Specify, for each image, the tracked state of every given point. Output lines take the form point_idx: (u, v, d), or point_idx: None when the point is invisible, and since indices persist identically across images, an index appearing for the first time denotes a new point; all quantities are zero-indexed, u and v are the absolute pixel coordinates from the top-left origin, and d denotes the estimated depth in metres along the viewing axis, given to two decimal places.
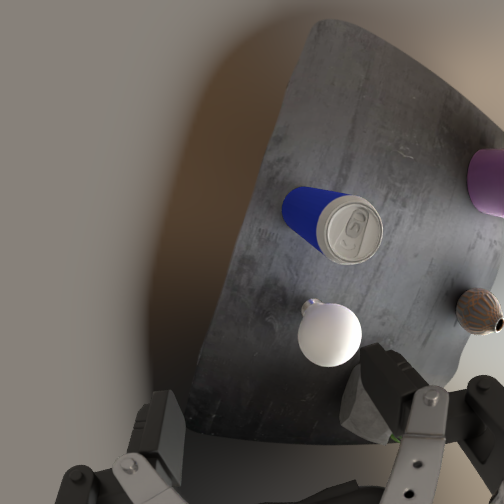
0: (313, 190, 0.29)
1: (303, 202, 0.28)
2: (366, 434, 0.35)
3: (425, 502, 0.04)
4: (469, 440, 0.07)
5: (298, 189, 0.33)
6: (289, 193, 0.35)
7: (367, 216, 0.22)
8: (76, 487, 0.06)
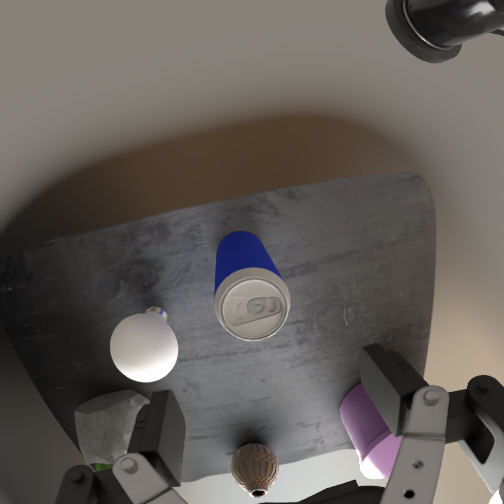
0: (265, 251, 0.28)
1: (249, 247, 0.26)
2: (82, 440, 0.30)
3: (425, 502, 0.04)
4: (469, 440, 0.07)
5: (256, 238, 0.32)
6: (247, 232, 0.33)
7: (276, 312, 0.21)
8: (76, 486, 0.07)
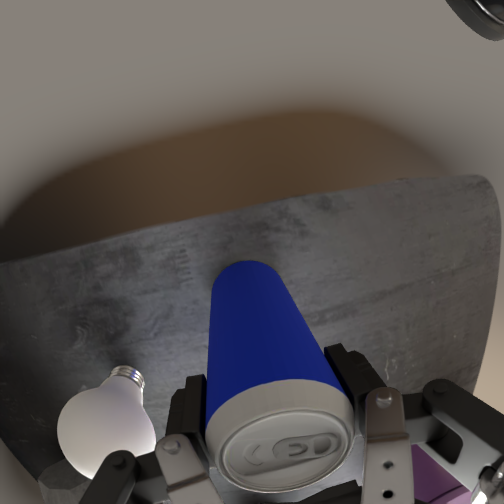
0: (293, 304, 0.16)
1: (269, 305, 0.14)
2: None
3: (407, 499, 0.05)
4: (433, 443, 0.08)
5: (274, 274, 0.21)
6: (259, 263, 0.22)
7: (328, 452, 0.09)
8: (115, 471, 0.07)
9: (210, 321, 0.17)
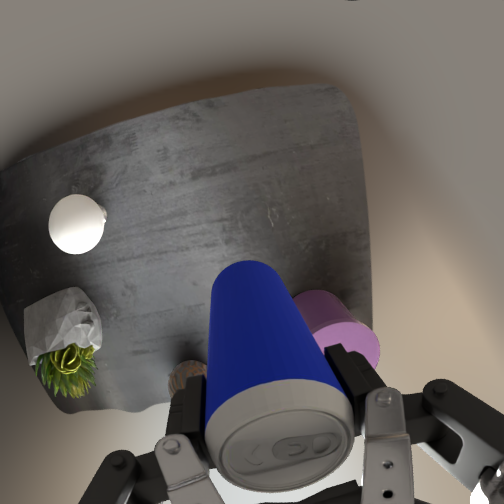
0: (293, 304, 0.16)
1: (268, 305, 0.14)
2: (26, 333, 0.33)
3: (406, 499, 0.05)
4: (433, 444, 0.08)
5: (273, 273, 0.21)
6: (259, 263, 0.22)
7: (328, 452, 0.09)
8: (115, 472, 0.07)
9: (210, 321, 0.17)
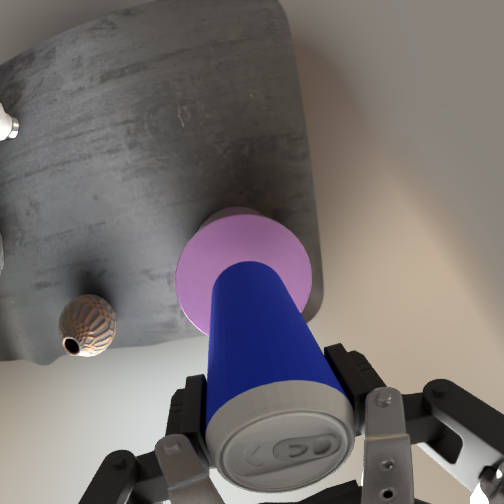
0: (293, 304, 0.16)
1: (269, 306, 0.14)
2: None
3: (407, 498, 0.05)
4: (433, 443, 0.08)
5: (274, 274, 0.21)
6: (259, 263, 0.22)
7: (328, 453, 0.09)
8: (115, 471, 0.07)
9: (210, 322, 0.17)
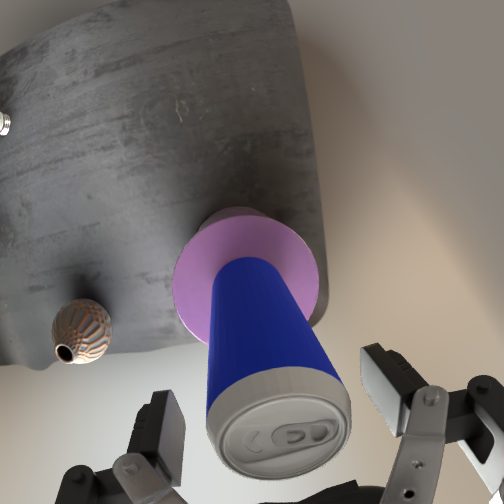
0: (292, 298, 0.17)
1: (268, 298, 0.15)
2: None
3: (425, 502, 0.04)
4: (469, 440, 0.07)
5: (273, 269, 0.21)
6: (259, 259, 0.22)
7: (325, 440, 0.09)
8: (76, 486, 0.07)
9: (211, 315, 0.17)
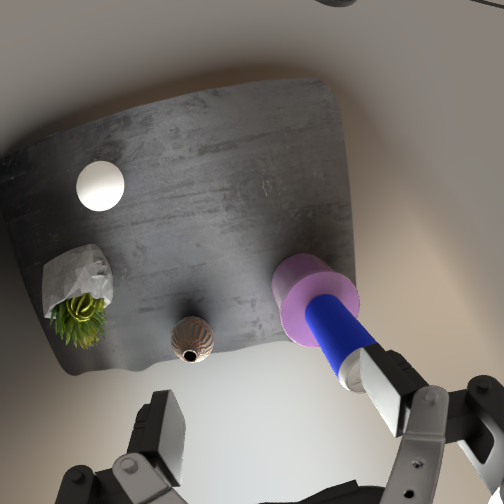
0: (355, 318, 0.35)
1: (349, 319, 0.33)
2: (44, 286, 0.39)
3: (425, 502, 0.04)
4: (469, 440, 0.07)
5: (340, 301, 0.39)
6: (331, 295, 0.40)
7: None
8: (76, 487, 0.06)
9: (316, 327, 0.35)
